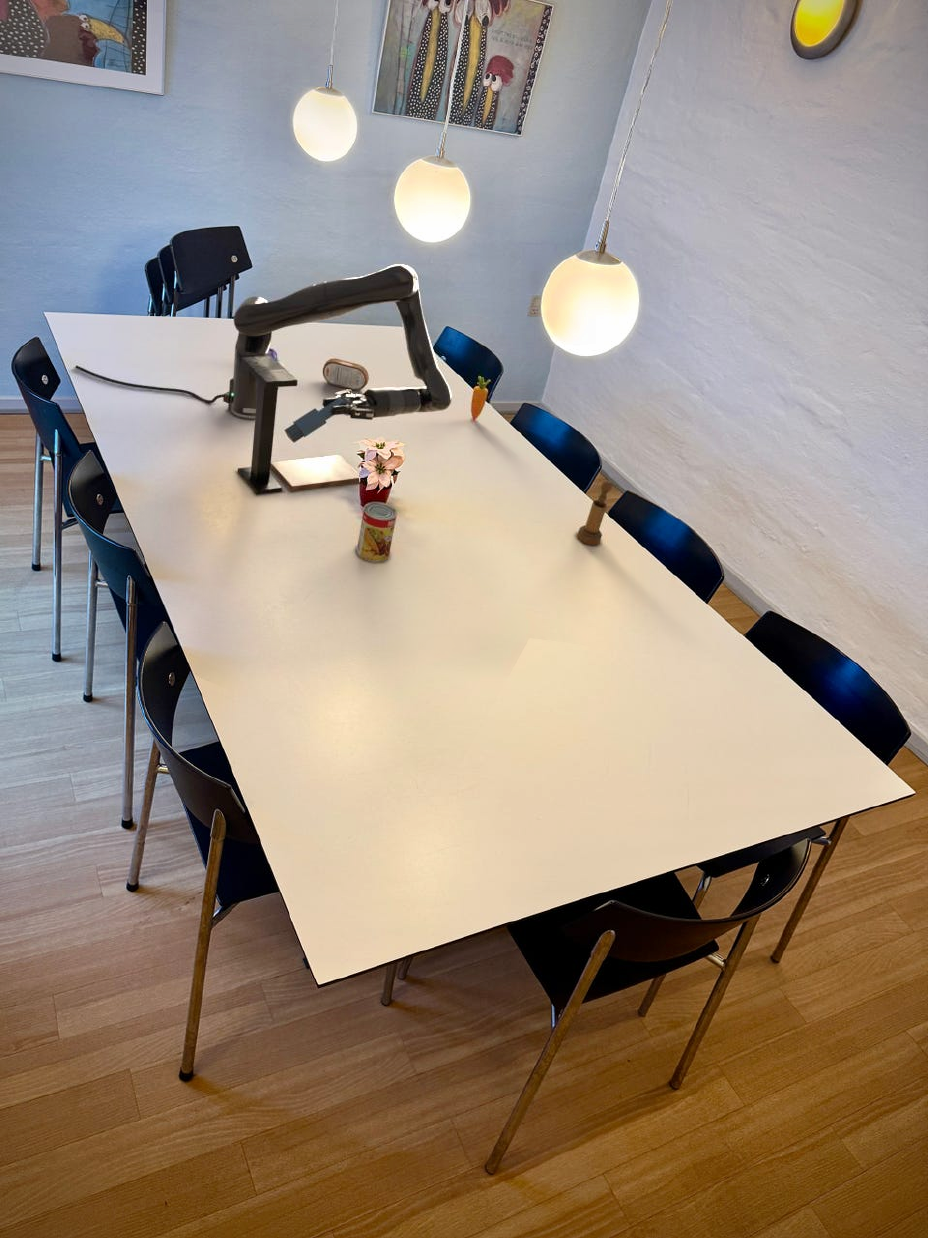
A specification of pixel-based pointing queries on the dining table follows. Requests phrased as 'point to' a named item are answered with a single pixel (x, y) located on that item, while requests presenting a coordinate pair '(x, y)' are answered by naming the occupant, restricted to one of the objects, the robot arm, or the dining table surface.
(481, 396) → the carrot
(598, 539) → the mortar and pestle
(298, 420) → the stepped blue block
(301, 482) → the board
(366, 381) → the tin
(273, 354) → the pudding
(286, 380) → the stand
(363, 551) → the canned food
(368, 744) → the dining table surface
